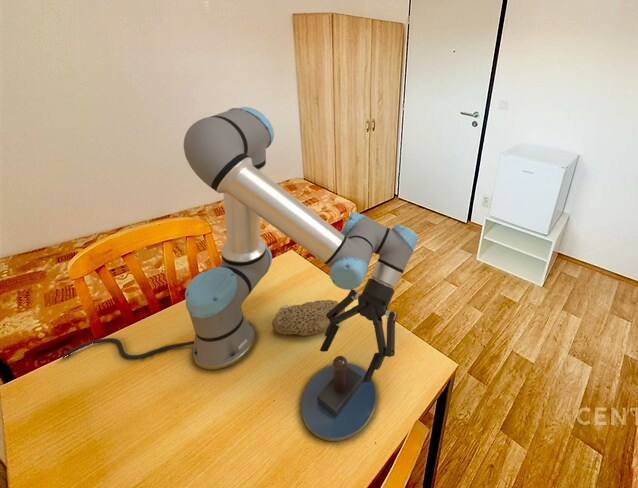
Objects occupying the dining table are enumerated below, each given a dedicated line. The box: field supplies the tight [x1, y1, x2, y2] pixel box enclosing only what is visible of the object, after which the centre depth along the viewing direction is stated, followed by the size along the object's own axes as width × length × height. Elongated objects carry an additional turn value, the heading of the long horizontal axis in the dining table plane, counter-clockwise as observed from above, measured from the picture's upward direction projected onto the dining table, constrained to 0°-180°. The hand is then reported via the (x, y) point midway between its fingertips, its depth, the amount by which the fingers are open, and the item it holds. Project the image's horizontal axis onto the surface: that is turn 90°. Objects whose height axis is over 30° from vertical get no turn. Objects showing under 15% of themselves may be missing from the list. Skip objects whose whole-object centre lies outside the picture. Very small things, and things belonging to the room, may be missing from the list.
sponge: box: [271, 299, 346, 337], centre depth 97 cm, size 13×8×20 cm
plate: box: [301, 362, 377, 442], centre depth 79 cm, size 18×18×1 cm
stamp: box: [317, 355, 363, 417], centre depth 76 cm, size 10×6×13 cm, turn 148°
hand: (343, 365), depth 77 cm, fingers open, 13 cm apart
